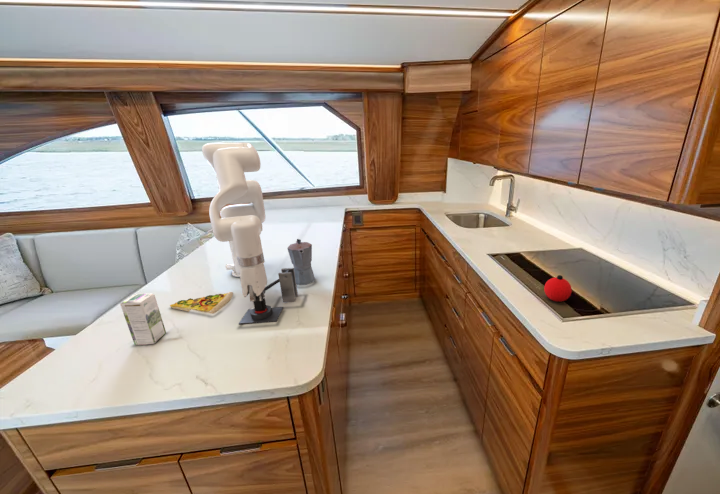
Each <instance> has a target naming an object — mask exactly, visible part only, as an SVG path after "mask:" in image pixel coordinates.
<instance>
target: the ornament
mask: <svg viewBox="0 0 720 494" xmlns="http://www.w3.org/2000/svg"><path fill="white" fill-rule="evenodd" d="M543 287H544V288H543V291H544V294H545V296H546V297H547V298H548V299H549V300H551V301H553V302H557V303H558V302H559V303H560V302H561V303H562V302H565V301H567V300H568V299H569V298H570V297H571V296H572V292H573V289H572V285H571V284H570V282H569V281H568V280H567V279H565V278H564V275H561V274H559V275H556V276H555V277H551V278H550V279H547V281H546V282H545V284H544V286H543Z"/></svg>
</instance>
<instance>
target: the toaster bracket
mask: <svg viewBox="0 0 720 494" xmlns="http://www.w3.org/2000/svg"><path fill="white" fill-rule="evenodd" d="M287 270H289V271H290V272H286V271H287ZM280 271H281V272H279V273H278V279H279V281H280V282H279V285H280V286H279V287H280V292H281V299H282V303H296V300H297V298H296V297H298V296H299V293H298V286H297V284H296V279H295V272H294V267H285V268H284V267H283V268H281V270H280ZM284 272H285V273H284ZM292 274H293V275H292Z"/></svg>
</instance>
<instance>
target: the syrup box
mask: <svg viewBox="0 0 720 494" xmlns="http://www.w3.org/2000/svg"><path fill="white" fill-rule="evenodd" d="M119 305H120V308H121V312H122V313H123V317H124V319H125V322H126V325H127V328H128V330H129V333H130V336H131V338H132V341H133V345H134V346H142V345H143V346H145V345H155V344H156V343H157V342H158V341H159V340H161V339H162V337H163V336H165V335H166V334H167V330H166V327H165V325H164V321H163V317H162V314H161V311H160V308H159V304H158V302H157V297H156V294H155V293H147V292H146V293H143V292H142V293H135V294H133V295H132V296H129V297H128V298H126V299H125V300H123V301H122V302H120V304H119Z"/></svg>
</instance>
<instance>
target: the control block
mask: <svg viewBox="0 0 720 494" xmlns="http://www.w3.org/2000/svg"><path fill="white" fill-rule="evenodd" d="M266 307H267V311H266V312H264V313H258V314H257V313H255V307H253V308H248V309H247V310H246V312H245V313H244V315H243V317H241V319H240V321H239V322H238V325H239V326H242V325H252V324H253V325H254V324H255V325H256V324H267V323H277V322H278V321H279V318H280V317H281V314H282V313H283V312H282V311H283V310H284V306H275V307H272V306H271V305H268V304H266Z"/></svg>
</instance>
